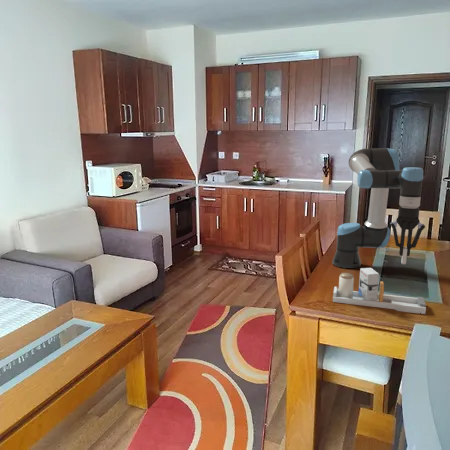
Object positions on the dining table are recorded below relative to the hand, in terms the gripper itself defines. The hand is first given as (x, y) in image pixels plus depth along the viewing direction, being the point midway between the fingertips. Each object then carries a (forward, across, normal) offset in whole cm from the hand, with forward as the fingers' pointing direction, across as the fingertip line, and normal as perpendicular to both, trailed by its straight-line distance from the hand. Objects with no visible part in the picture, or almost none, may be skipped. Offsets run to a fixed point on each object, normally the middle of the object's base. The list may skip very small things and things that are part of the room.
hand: (403, 263), depth 163 cm
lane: (+19, -9, -1) cm, 21 cm away
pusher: (+18, -6, -1) cm, 19 cm away
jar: (+18, -22, -1) cm, 29 cm away
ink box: (+17, -13, -1) cm, 21 cm away
